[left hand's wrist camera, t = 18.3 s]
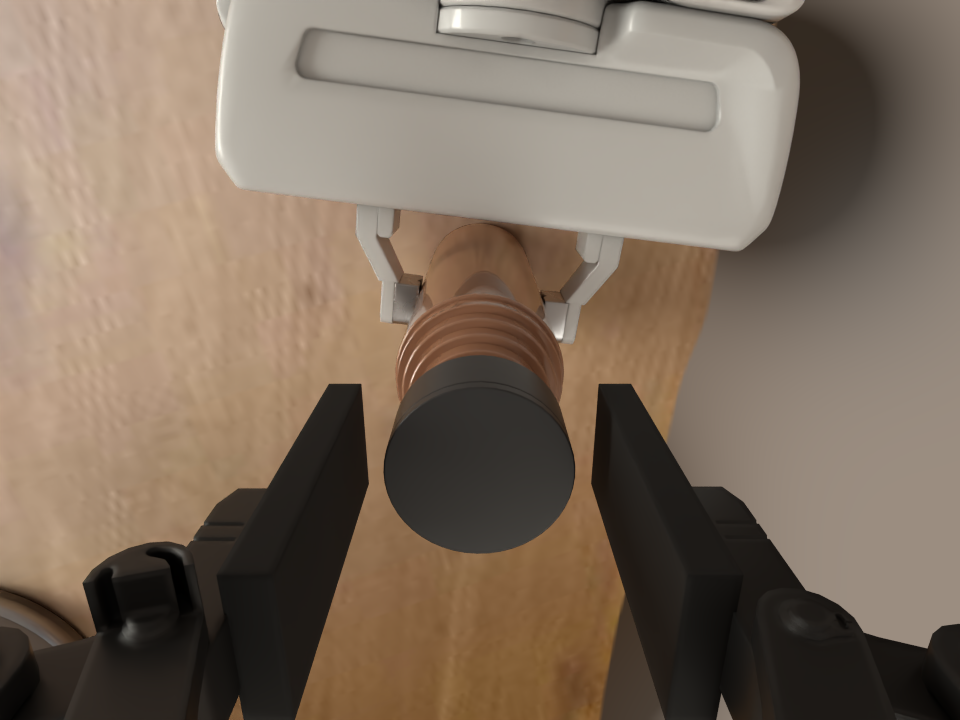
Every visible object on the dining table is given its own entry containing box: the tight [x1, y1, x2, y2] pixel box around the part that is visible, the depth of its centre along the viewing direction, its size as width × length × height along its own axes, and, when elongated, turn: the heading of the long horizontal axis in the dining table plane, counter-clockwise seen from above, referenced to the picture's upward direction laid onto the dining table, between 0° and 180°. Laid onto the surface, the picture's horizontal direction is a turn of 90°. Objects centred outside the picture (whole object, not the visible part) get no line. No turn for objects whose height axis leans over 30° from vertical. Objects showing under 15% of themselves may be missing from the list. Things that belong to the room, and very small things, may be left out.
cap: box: [384, 355, 575, 554], centre depth 14 cm, size 4×4×2 cm
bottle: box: [395, 223, 564, 404], centre depth 22 cm, size 5×5×19 cm
